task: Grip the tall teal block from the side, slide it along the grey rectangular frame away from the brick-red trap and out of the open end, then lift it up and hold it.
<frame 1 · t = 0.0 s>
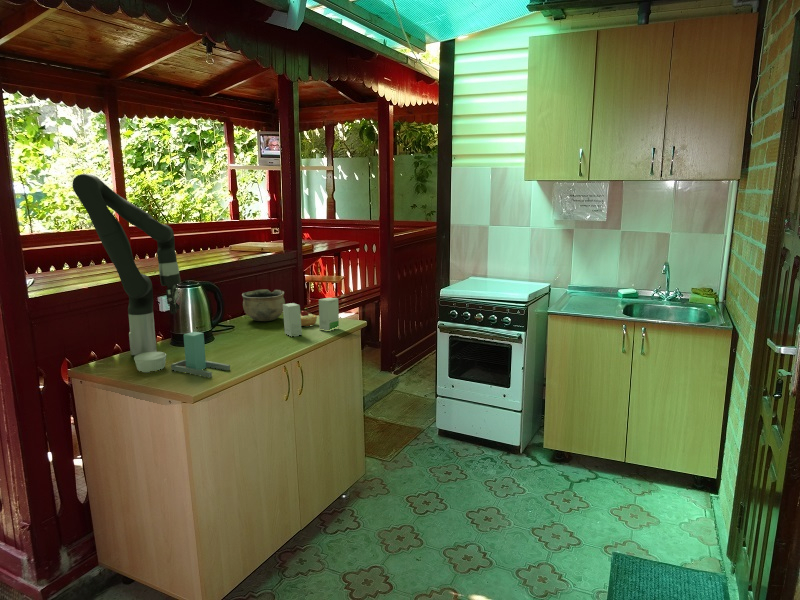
hand: (175, 311, 221), 17 cm above the countertop, tool pointing down, fingers open, 8 cm apart
ramekin: (151, 369, 201), on the countertop
teal block: (196, 369, 200), resting in grey rectangular frame
skincare box: (329, 330, 261), on the countertop
pastry: (304, 325, 270), on the countertop
skincare box 2: (292, 335, 251), on the countertop
grey rectangular frame: (202, 370, 199), on the countertop
ceramic bowl: (264, 320, 281), on the countertop
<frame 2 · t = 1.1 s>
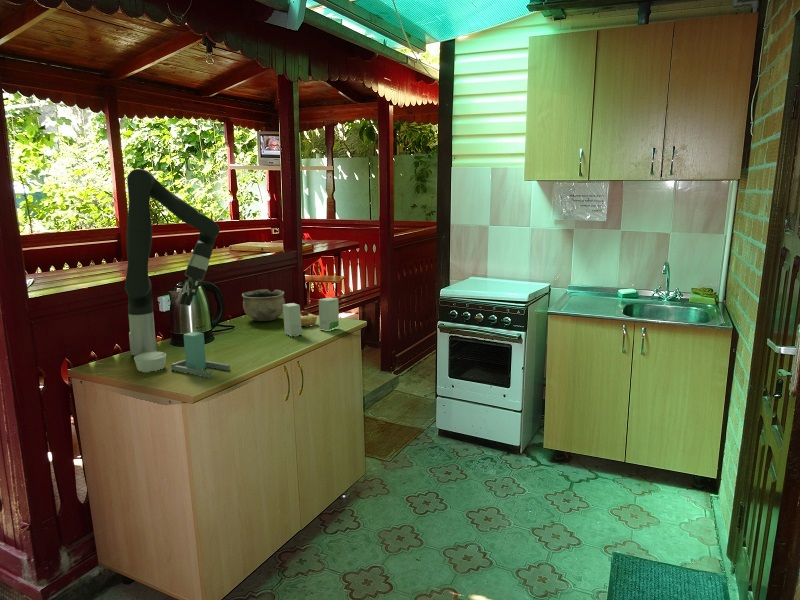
hand: (184, 304, 215), 21 cm above the countertop, tool tilted 25°, fingers open, 8 cm apart
nothing on the countertop moved.
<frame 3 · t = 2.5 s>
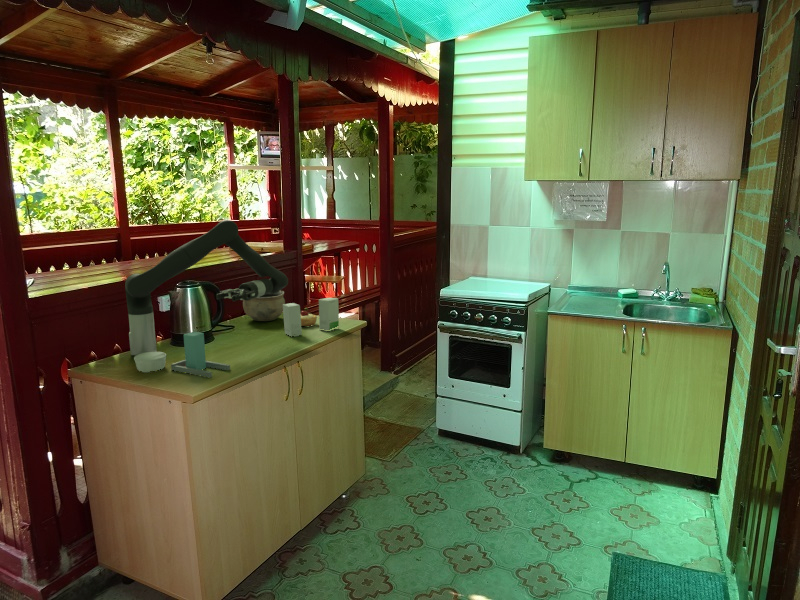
hand: (224, 298, 211), 25 cm above the countertop, tool horizontal, fingers open, 8 cm apart
nothing on the countertop moved.
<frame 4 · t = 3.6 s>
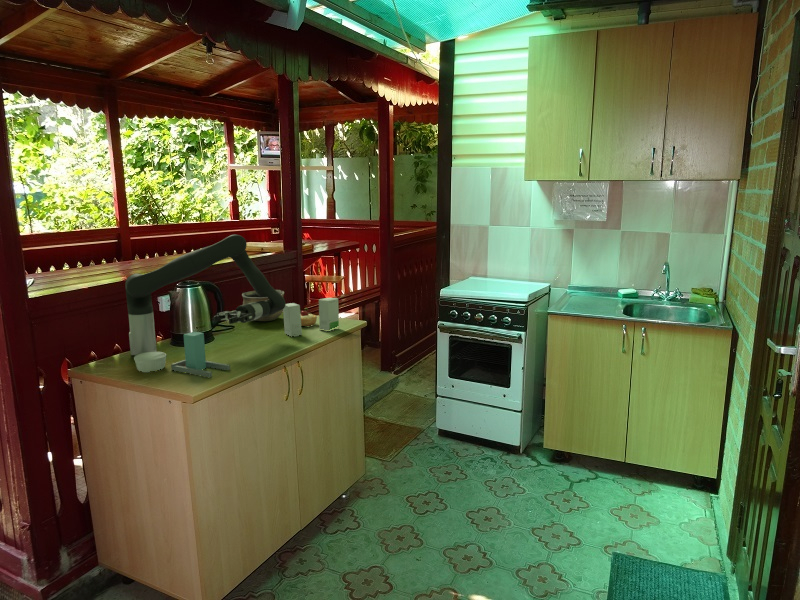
hand: (221, 320, 210), 16 cm above the countertop, tool horizontal, fingers open, 8 cm apart
nothing on the countertop moved.
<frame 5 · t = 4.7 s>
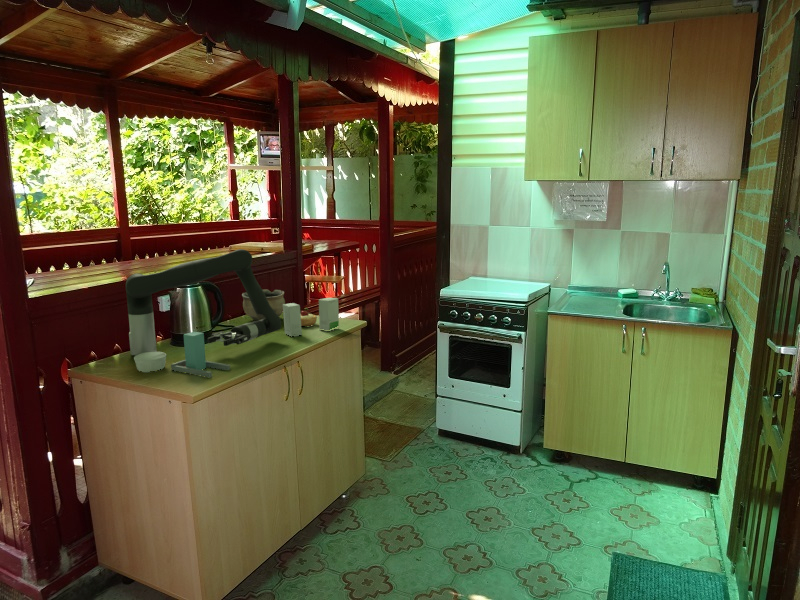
hand: (216, 342, 208), 8 cm above the countertop, tool horizontal, fingers open, 8 cm apart
nothing on the countertop moved.
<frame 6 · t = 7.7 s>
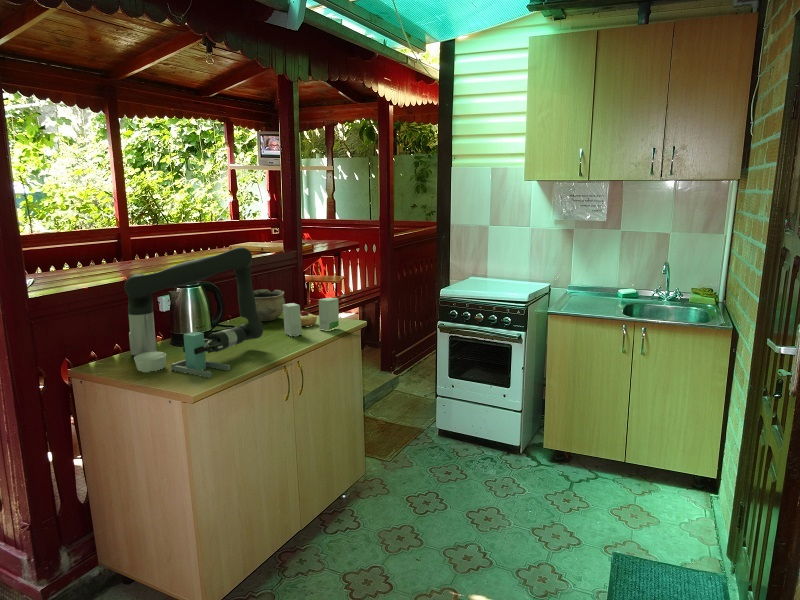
hand: (189, 350, 196), 8 cm above the countertop, tool horizontal, fingers closed on teal block, 5 cm apart
teal block: (196, 369, 200), resting in grey rectangular frame, touching gripper
everything else where it was.
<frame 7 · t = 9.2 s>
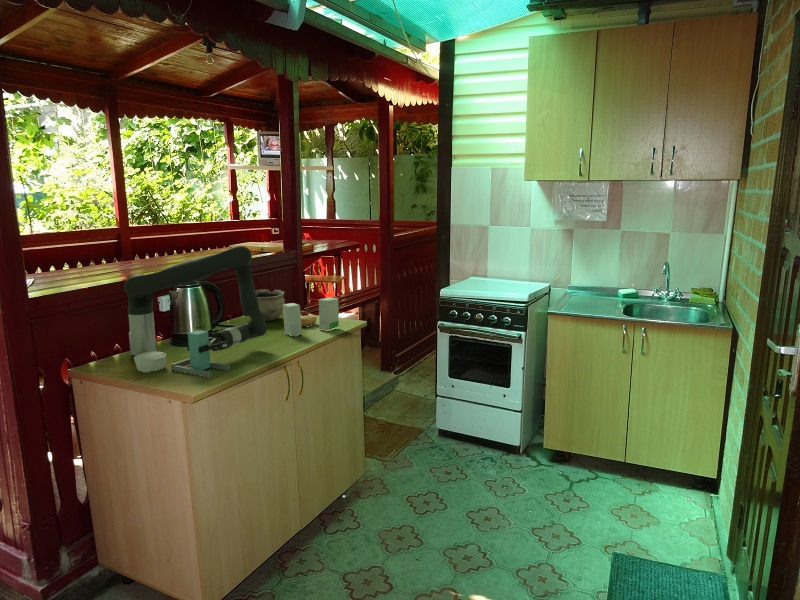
hand: (193, 349, 195), 9 cm above the countertop, tool horizontal, fingers closed on teal block, 5 cm apart
teal block: (200, 367, 199), point 1 cm above the countertop, touching gripper
everything else where it was.
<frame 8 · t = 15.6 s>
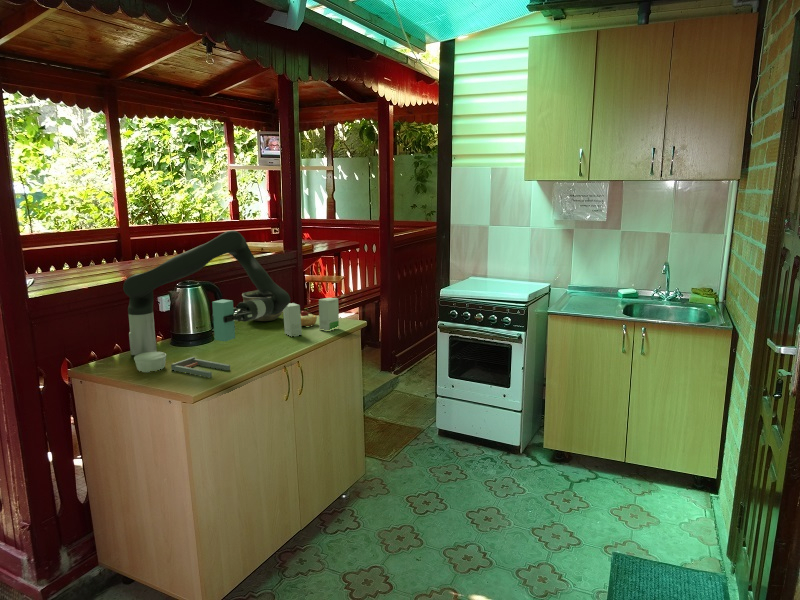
hand: (218, 318, 187), 22 cm above the countertop, tool horizontal, fingers closed on teal block, 5 cm apart
teal block: (225, 339, 191), point 14 cm above the countertop, touching gripper
everything else where it was.
at the end: the gripper is holding teal block; teal block point 13.8 cm above the countertop; teal block touching gripper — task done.
